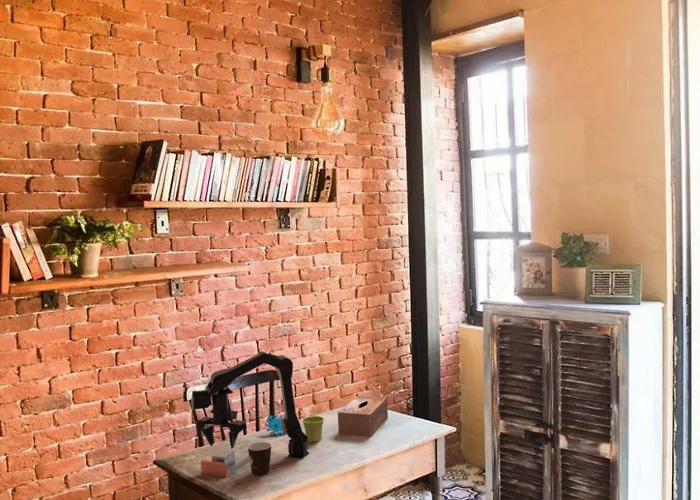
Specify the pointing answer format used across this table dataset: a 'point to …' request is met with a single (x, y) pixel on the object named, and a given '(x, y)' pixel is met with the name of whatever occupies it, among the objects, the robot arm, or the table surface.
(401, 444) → the table surface
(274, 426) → the blue spiky piece
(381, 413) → the tissue box cover
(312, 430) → the plant pot
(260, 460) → the coffee mug
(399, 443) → the table surface
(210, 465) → the channel
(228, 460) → the metal box with button
